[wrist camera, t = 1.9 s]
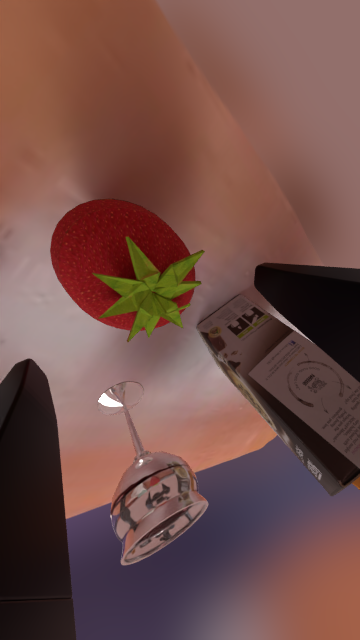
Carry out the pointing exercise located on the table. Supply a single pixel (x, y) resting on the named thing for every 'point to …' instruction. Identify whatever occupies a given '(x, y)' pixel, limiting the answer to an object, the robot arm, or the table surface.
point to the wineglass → (149, 488)
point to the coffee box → (290, 388)
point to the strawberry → (123, 265)
